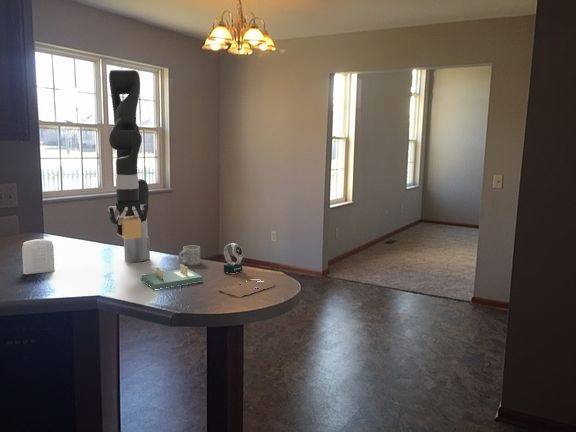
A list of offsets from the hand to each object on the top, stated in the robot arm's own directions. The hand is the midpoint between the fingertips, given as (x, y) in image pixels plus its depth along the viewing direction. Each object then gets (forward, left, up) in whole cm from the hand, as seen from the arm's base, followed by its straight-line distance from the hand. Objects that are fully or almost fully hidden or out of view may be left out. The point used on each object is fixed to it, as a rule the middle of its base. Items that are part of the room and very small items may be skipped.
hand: (129, 234), depth 171 cm
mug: (-25, -4, -16) cm, 30 cm away
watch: (-34, +16, -16) cm, 40 cm away
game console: (-28, +36, -16) cm, 48 cm away
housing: (0, 0, -1) cm, 1 cm away
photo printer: (+26, -22, -16) cm, 38 cm away
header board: (-10, +15, -15) cm, 23 cm away
